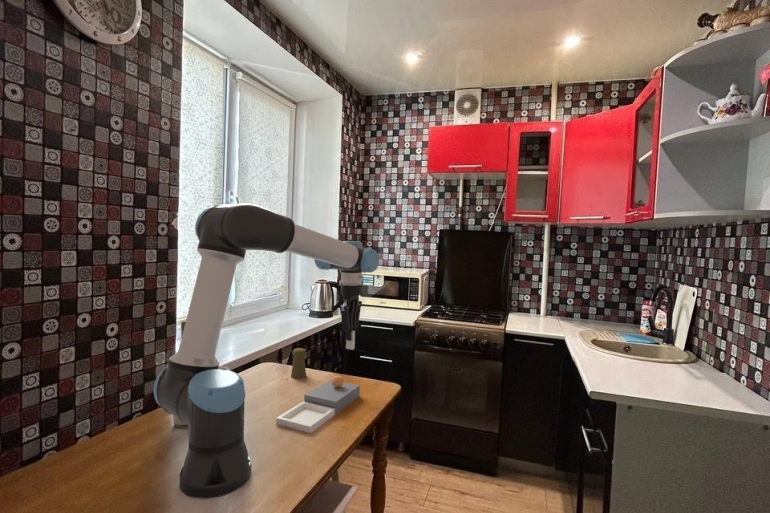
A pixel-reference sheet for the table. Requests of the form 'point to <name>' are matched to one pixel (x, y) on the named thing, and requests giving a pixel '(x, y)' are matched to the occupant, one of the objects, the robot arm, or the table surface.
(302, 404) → the tray
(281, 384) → the table surface
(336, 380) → the ball
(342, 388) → the deck
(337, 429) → the table surface
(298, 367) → the cork
